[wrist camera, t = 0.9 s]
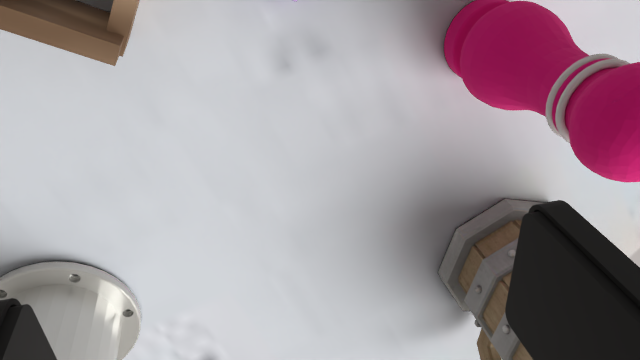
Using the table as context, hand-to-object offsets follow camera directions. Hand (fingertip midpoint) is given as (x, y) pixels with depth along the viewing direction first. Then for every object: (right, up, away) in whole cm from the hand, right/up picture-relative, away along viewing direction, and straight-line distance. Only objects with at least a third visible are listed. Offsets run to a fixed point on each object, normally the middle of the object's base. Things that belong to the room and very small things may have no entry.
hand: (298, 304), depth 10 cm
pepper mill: (+13, +13, +29) cm, 35 cm away
